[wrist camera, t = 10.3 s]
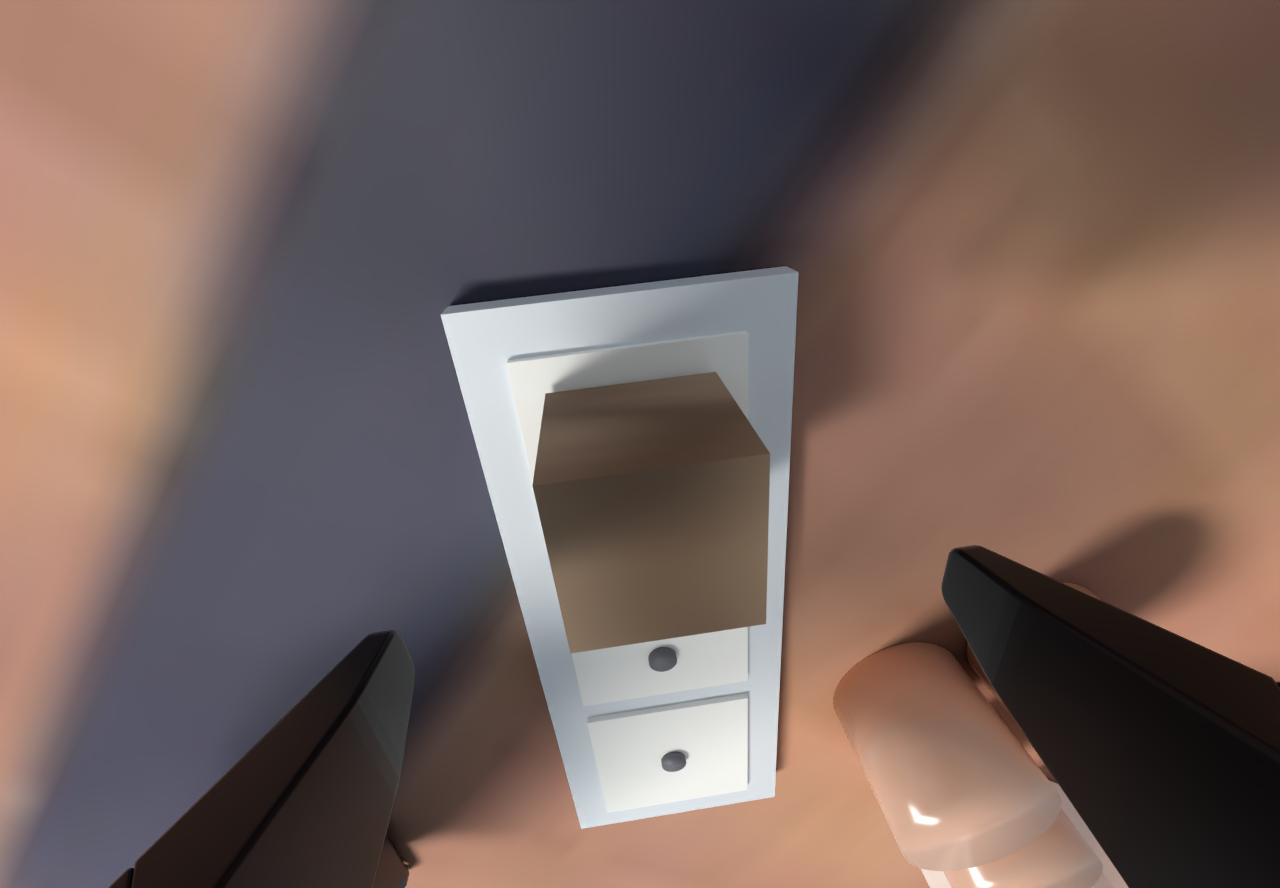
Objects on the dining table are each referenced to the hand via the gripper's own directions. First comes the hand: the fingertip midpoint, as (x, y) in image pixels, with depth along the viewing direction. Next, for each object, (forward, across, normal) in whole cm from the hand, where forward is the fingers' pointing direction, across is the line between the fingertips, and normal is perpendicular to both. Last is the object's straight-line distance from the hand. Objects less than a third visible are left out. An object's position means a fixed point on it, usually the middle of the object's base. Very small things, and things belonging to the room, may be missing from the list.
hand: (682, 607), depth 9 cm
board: (+6, 0, +7) cm, 9 cm away
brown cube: (+5, 0, 0) cm, 5 cm away
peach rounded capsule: (+6, -9, +13) cm, 17 cm away
